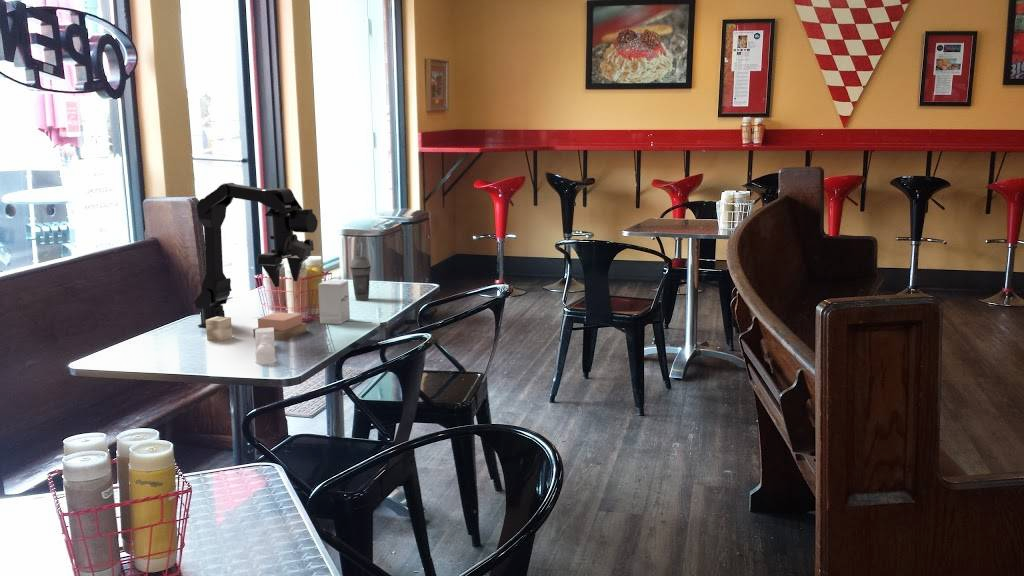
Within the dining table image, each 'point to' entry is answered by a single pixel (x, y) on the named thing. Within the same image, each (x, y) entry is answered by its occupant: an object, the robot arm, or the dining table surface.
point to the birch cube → (219, 328)
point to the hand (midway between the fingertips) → (286, 283)
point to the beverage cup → (360, 276)
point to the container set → (265, 346)
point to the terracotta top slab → (280, 321)
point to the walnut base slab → (288, 332)
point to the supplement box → (334, 301)
